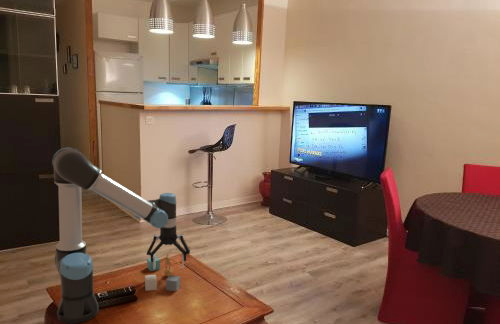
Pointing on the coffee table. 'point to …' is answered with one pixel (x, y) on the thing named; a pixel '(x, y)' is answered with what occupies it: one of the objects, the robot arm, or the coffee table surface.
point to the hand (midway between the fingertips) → (168, 267)
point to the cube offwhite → (150, 282)
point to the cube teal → (150, 264)
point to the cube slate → (172, 283)
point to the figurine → (168, 270)
